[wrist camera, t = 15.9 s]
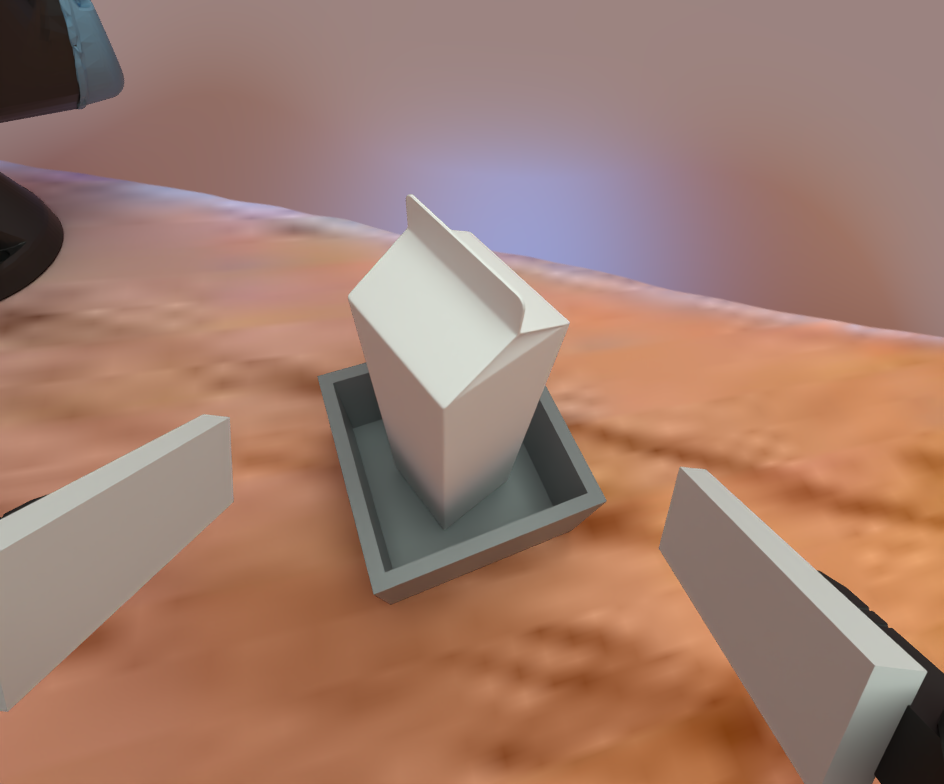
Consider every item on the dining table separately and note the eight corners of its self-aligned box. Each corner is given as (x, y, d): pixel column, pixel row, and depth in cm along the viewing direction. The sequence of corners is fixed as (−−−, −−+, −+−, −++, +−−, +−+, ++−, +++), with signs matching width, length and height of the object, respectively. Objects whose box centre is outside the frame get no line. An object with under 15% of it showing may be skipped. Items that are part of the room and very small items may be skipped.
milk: (444, 531, 31) (440, 361, 11) (394, 466, 33) (320, 228, 13) (509, 479, 33) (599, 259, 13) (458, 420, 35) (474, 157, 16)
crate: (342, 427, 35) (317, 376, 28) (499, 379, 38) (511, 321, 31) (390, 604, 29) (373, 594, 22) (571, 530, 32) (606, 501, 25)
